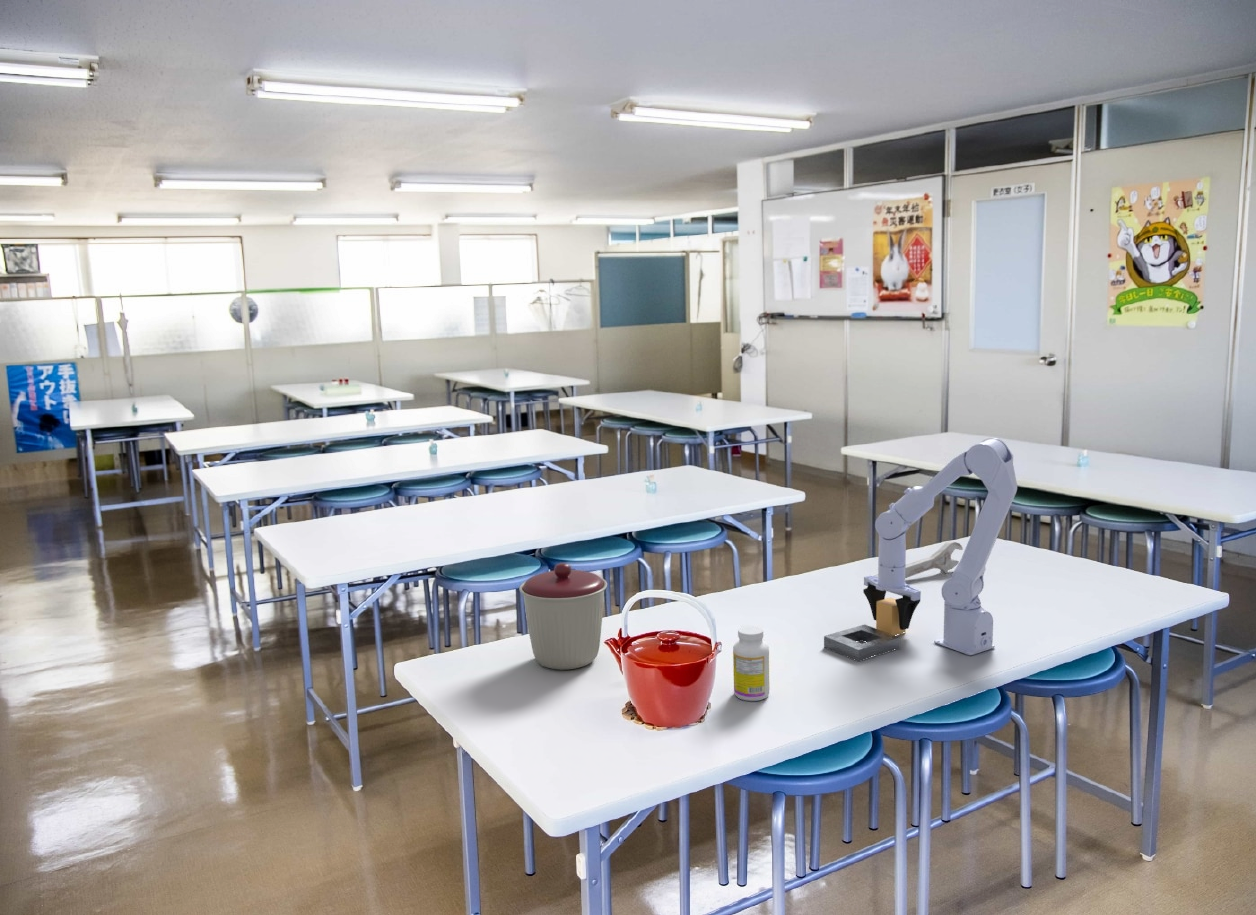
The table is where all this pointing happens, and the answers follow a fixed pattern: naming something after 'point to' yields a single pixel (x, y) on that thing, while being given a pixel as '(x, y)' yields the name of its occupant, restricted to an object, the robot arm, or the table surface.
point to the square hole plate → (849, 647)
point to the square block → (888, 616)
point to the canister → (564, 616)
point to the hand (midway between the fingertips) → (890, 623)
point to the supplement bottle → (751, 664)
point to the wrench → (934, 561)
